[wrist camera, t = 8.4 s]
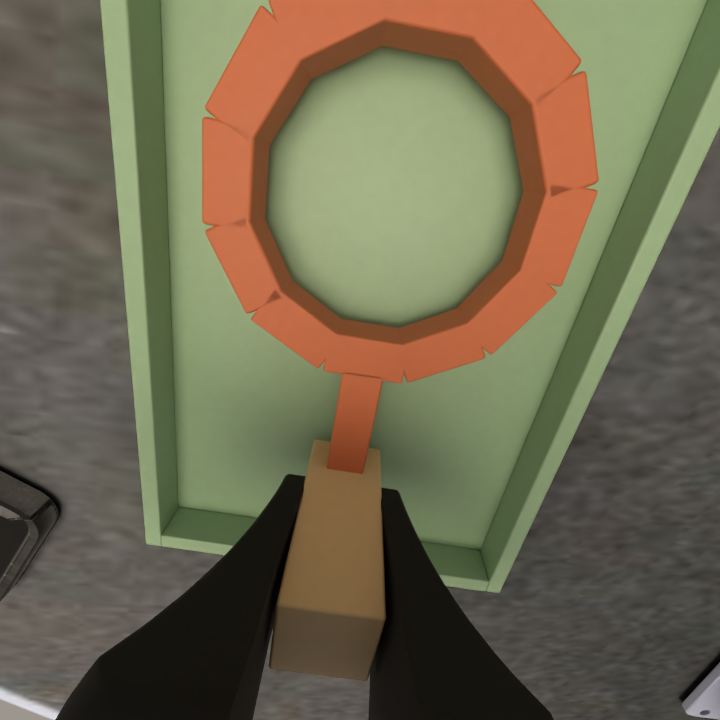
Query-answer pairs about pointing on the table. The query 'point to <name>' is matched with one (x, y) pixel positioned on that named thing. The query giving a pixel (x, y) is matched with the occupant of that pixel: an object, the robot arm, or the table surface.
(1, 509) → the phone
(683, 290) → the table surface
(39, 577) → the table surface
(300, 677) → the table surface
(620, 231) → the tray
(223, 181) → the ring
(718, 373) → the table surface
